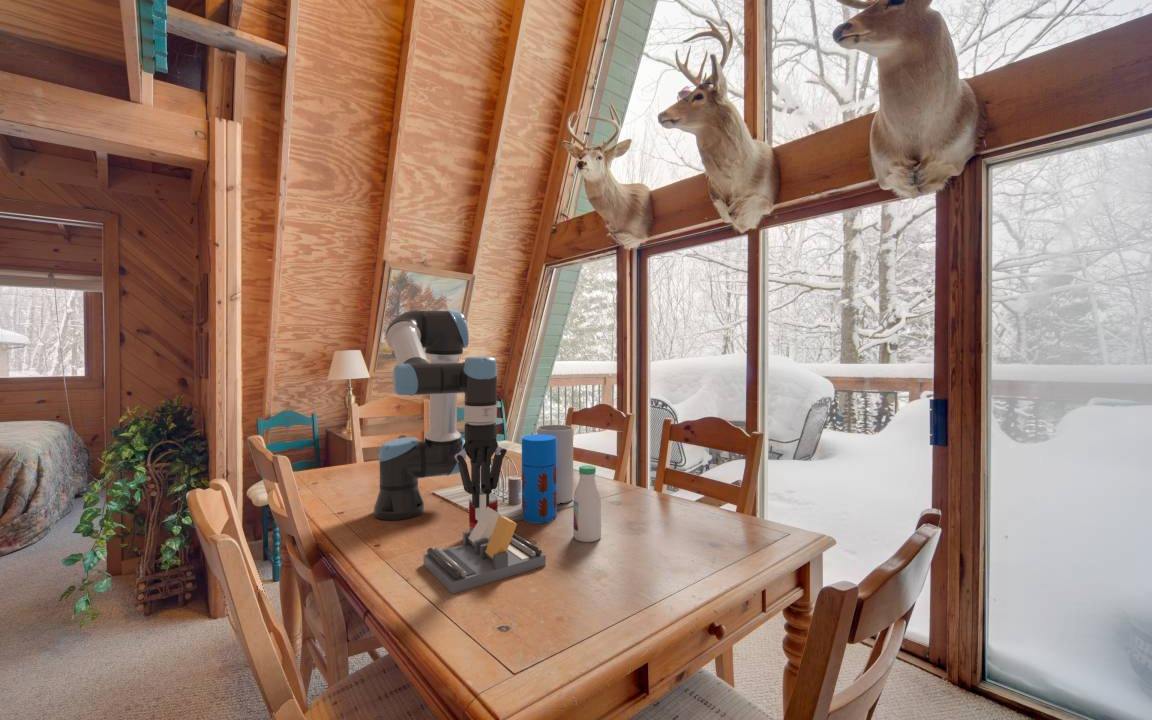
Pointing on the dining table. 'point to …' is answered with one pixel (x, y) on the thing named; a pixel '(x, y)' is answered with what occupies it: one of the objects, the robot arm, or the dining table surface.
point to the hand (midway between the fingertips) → (480, 519)
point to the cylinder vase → (562, 459)
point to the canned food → (492, 504)
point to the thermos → (539, 478)
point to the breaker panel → (481, 562)
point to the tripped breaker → (500, 536)
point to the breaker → (484, 526)
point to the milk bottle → (587, 506)
